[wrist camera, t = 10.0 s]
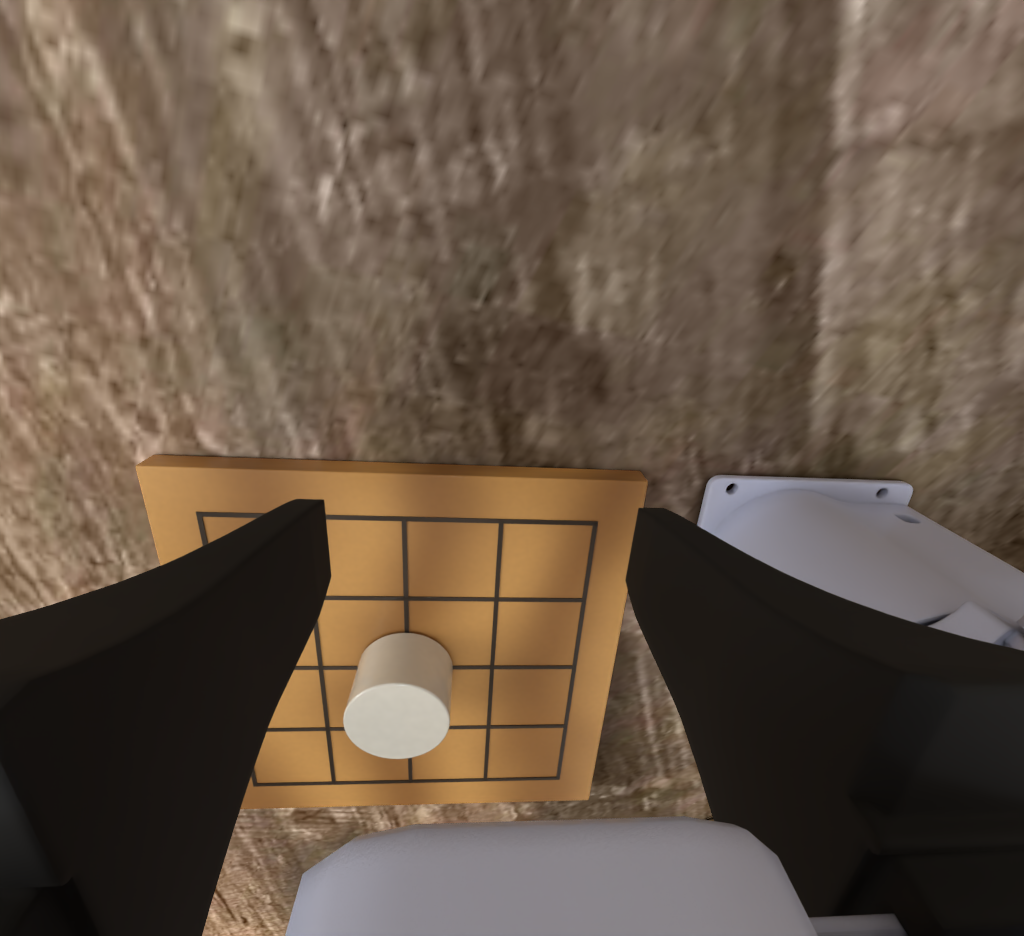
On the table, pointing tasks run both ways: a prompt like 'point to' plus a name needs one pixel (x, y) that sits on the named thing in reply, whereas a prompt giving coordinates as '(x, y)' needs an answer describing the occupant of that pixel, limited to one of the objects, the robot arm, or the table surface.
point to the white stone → (400, 697)
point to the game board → (434, 615)
